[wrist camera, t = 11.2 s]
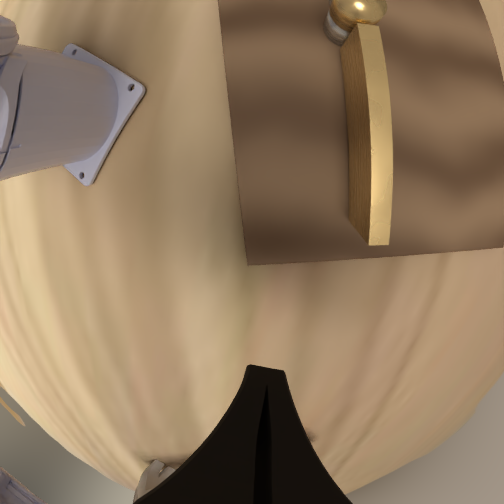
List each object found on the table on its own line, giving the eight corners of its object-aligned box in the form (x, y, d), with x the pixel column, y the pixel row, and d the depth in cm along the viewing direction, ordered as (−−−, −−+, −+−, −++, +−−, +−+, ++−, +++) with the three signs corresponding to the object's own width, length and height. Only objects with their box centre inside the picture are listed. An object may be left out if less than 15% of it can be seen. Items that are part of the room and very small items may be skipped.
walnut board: (212, -79, 8) (209, -84, 7) (444, -55, 5) (447, -58, 4) (249, 260, 18) (247, 265, 17) (497, 243, 15) (503, 247, 14)
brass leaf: (321, 11, 11) (331, -22, 7) (361, 15, 10) (381, -15, 7) (336, 221, 15) (353, 245, 11) (375, 220, 15) (402, 244, 11)
